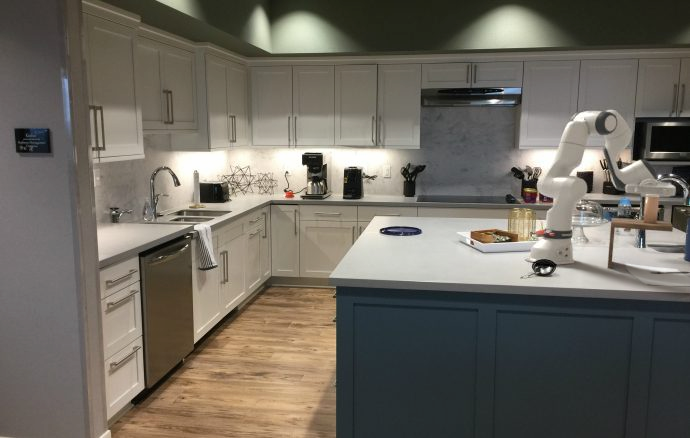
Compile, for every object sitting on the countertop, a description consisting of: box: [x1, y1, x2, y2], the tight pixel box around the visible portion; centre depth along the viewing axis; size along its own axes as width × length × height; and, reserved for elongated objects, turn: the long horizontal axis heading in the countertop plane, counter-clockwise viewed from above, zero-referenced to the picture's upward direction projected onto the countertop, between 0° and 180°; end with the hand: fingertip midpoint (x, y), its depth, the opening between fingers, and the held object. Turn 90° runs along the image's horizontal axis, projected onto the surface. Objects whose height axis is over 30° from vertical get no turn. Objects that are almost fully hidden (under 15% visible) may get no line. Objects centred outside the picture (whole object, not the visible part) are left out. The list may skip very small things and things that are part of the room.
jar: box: [643, 194, 660, 223], centre depth 243 cm, size 5×5×12 cm
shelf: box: [607, 217, 674, 269], centre depth 246 cm, size 15×23×20 cm, turn 64°
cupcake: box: [535, 220, 544, 237], centre depth 300 cm, size 9×8×12 cm
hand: (650, 191), depth 254 cm, fingers open, 8 cm apart
